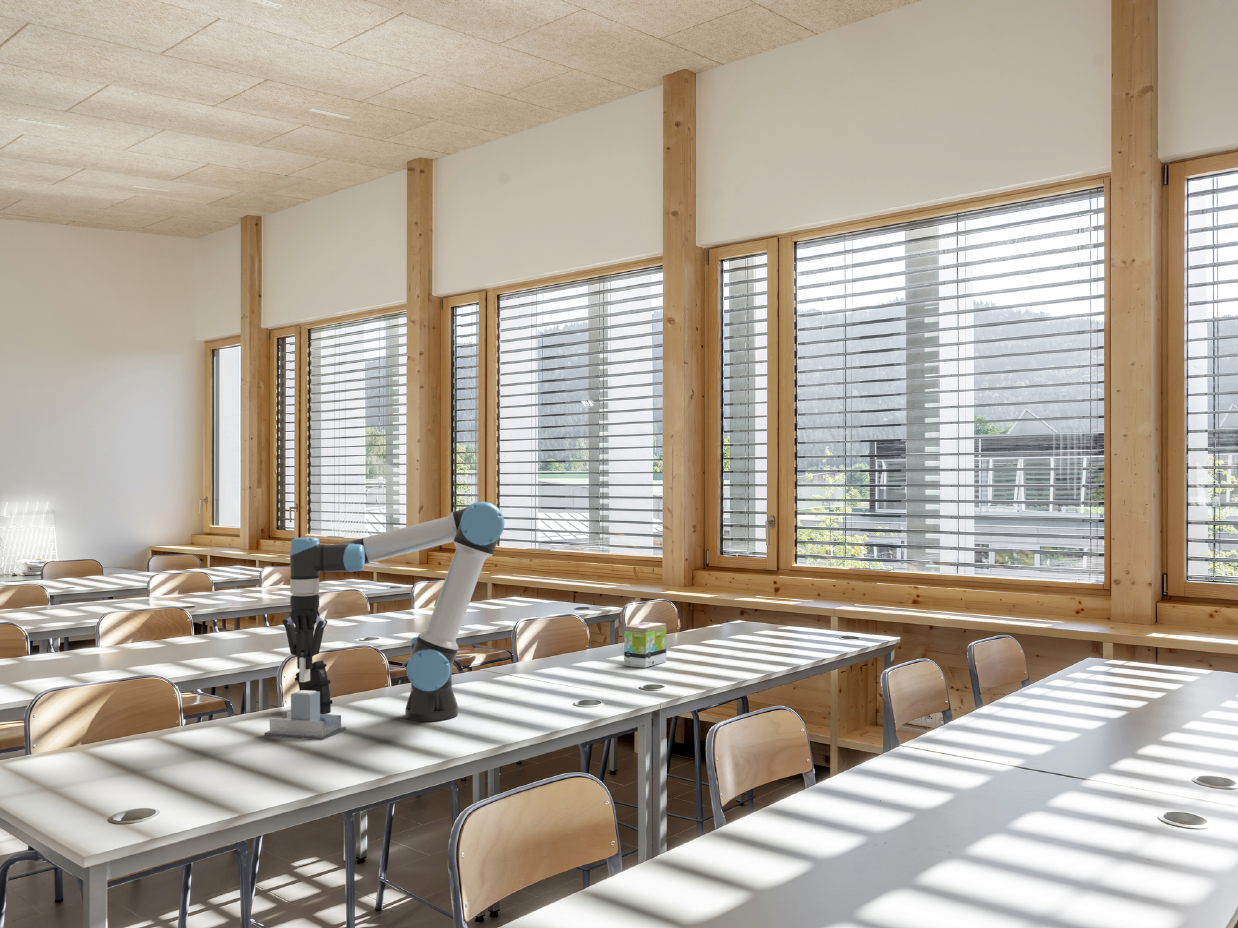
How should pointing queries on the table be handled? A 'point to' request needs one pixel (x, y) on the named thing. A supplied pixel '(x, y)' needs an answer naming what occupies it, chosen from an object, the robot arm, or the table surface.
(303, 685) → the magazine
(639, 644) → the tea box
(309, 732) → the grey piece
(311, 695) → the block
